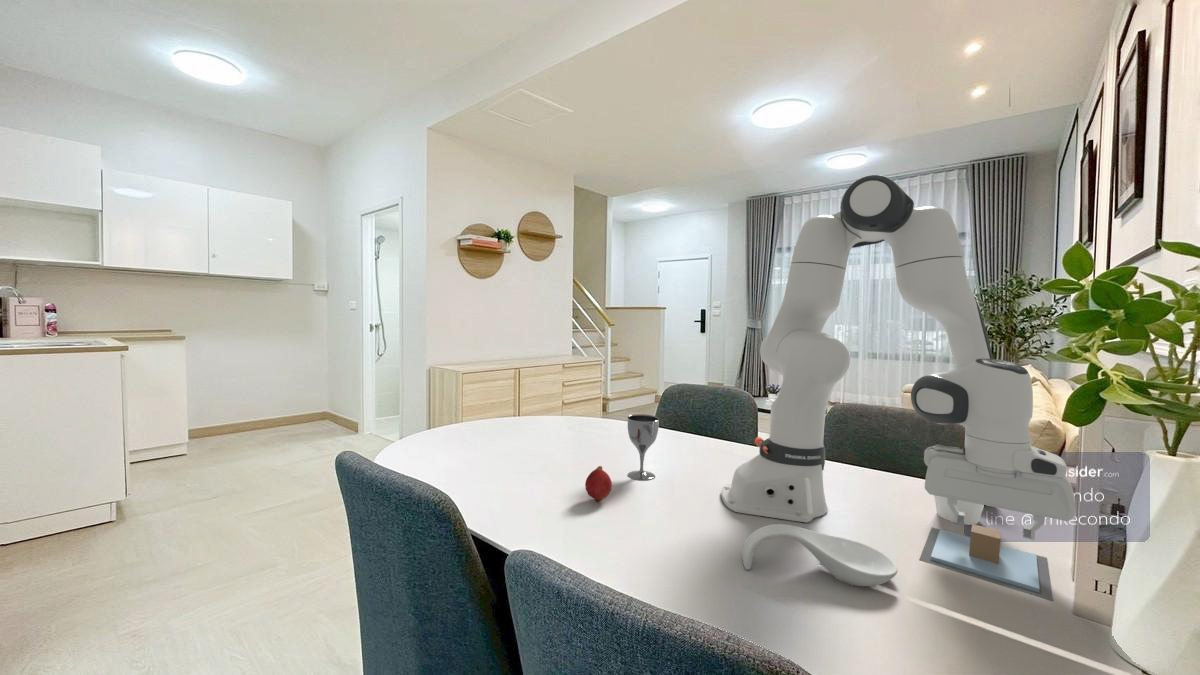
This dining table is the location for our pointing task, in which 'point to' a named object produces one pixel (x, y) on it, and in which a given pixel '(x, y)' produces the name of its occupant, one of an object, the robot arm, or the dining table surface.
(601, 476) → the onion
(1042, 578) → the sheet mat
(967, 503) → the cup
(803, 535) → the spoon rest
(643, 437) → the wine glass
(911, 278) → the robot arm
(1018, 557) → the cover sheet
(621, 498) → the dining table surface
